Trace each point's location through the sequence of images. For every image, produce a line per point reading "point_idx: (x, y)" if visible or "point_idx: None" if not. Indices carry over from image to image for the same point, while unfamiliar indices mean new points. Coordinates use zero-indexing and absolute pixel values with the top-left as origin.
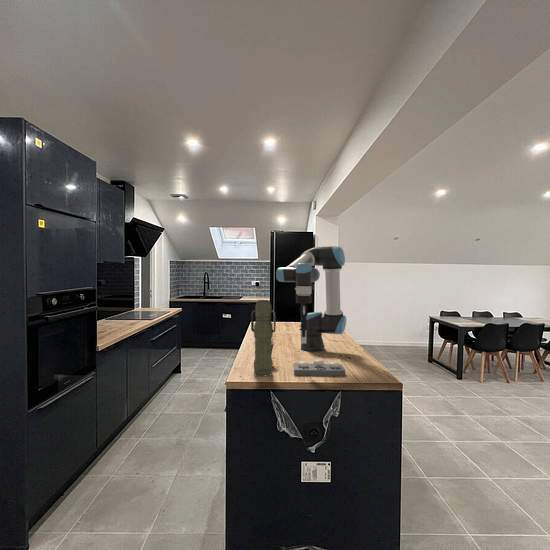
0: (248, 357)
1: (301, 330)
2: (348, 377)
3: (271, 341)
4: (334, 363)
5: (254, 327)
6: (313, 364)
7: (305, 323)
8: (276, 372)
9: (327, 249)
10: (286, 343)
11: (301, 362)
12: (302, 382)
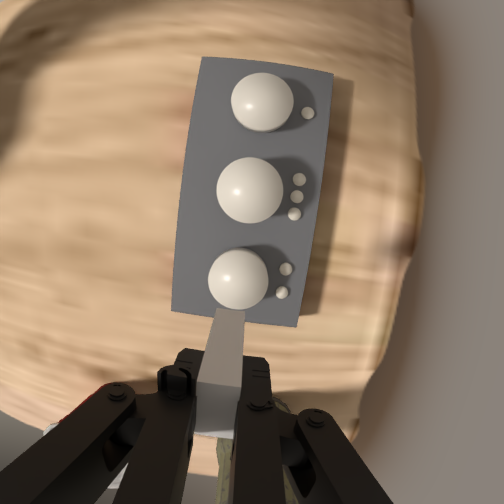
0: (51, 419)
1: (233, 430)
2: (347, 77)
3: (53, 427)
4: (273, 101)
5: None
6: (194, 209)
7: (366, 484)
8: None
9: None
10: None
11: (237, 291)
12: (395, 293)
